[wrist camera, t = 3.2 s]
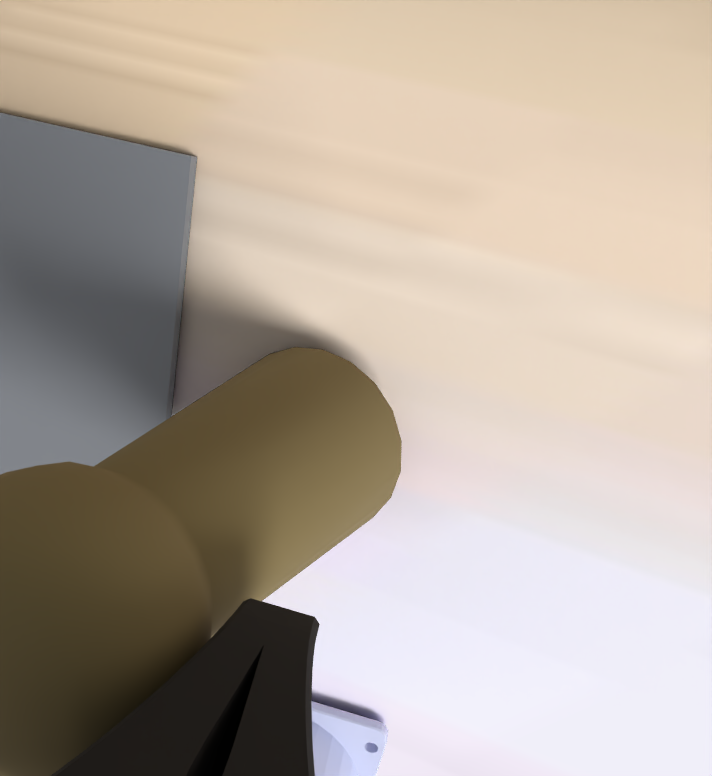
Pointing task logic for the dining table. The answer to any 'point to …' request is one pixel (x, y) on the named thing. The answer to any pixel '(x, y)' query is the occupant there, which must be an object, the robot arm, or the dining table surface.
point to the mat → (87, 290)
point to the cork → (175, 542)
